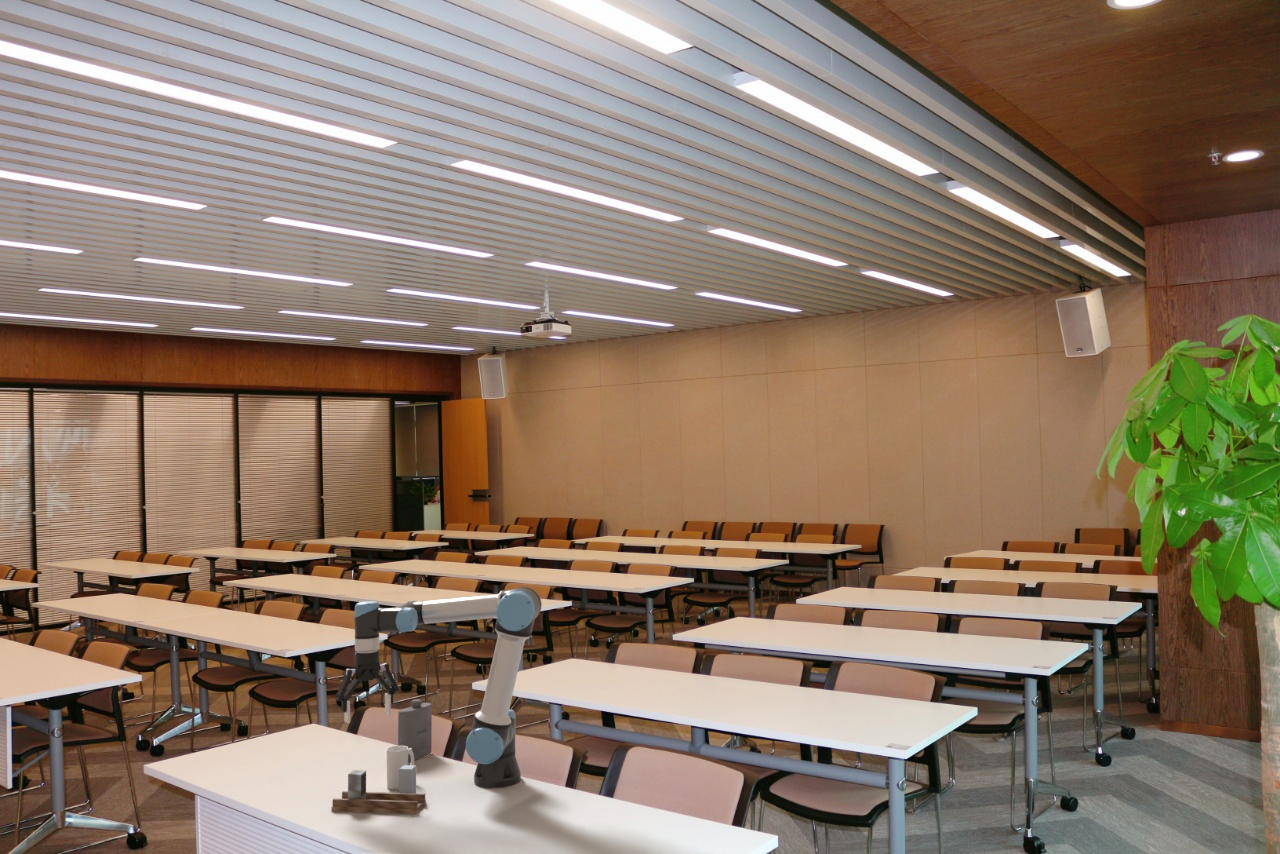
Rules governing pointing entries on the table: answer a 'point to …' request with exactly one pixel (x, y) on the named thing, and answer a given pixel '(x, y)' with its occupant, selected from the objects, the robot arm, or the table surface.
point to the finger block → (407, 779)
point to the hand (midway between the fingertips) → (367, 718)
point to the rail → (375, 798)
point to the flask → (416, 728)
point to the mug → (397, 763)
